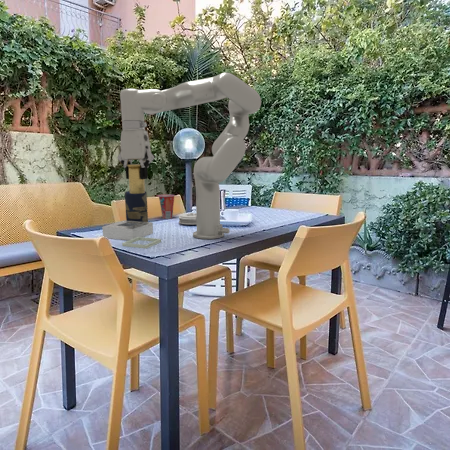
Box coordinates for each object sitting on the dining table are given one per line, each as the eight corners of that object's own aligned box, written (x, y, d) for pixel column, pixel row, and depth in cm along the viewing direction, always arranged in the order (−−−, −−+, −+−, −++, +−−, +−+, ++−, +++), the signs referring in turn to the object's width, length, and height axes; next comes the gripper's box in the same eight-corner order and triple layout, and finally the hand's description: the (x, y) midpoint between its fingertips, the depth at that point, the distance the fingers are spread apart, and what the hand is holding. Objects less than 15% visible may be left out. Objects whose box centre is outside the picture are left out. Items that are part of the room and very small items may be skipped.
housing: (153, 234, 147) (152, 222, 146) (133, 241, 134) (132, 229, 133) (124, 231, 151) (124, 220, 150) (103, 239, 139) (102, 226, 138)
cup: (167, 215, 191) (166, 193, 188) (178, 217, 186) (178, 194, 183) (154, 218, 183) (153, 195, 181) (166, 220, 178) (165, 196, 176)
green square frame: (161, 243, 132) (161, 238, 132) (146, 249, 123) (146, 245, 122) (138, 240, 135) (138, 236, 135) (122, 247, 126) (122, 242, 126)
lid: (174, 225, 166) (173, 215, 165) (186, 220, 178) (185, 211, 177) (198, 227, 162) (198, 216, 161) (209, 222, 173) (209, 212, 172)
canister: (142, 231, 153) (140, 189, 149) (122, 230, 155) (120, 189, 151) (151, 226, 162) (150, 187, 159) (132, 226, 164) (130, 187, 160)
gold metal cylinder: (149, 192, 129) (147, 164, 127) (139, 194, 124) (137, 165, 122) (135, 191, 131) (134, 164, 129) (125, 193, 126) (123, 164, 124)
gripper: (160, 126, 123) (162, 178, 127) (120, 128, 130) (124, 177, 133) (147, 125, 116) (150, 180, 120) (106, 127, 123) (110, 179, 126)
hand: (136, 178), depth 126 cm, fingers closed on gold metal cylinder, 5 cm apart
